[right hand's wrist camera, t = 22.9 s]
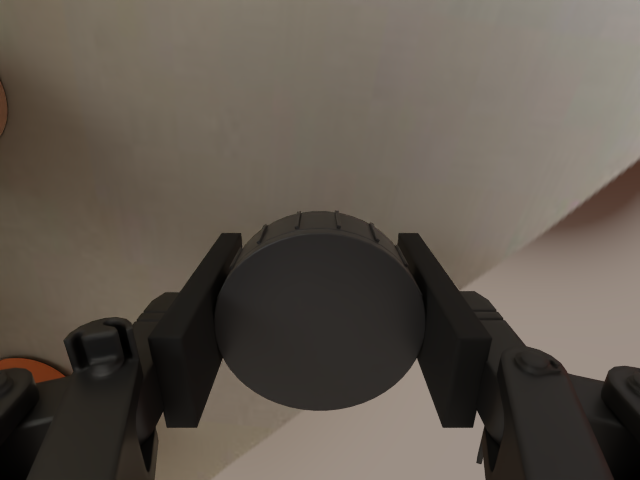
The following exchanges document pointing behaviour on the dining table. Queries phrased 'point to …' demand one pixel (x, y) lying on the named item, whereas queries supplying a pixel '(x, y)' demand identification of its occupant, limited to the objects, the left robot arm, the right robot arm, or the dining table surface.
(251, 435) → the dining table surface
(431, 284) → the right robot arm
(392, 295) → the lid
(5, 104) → the jar
